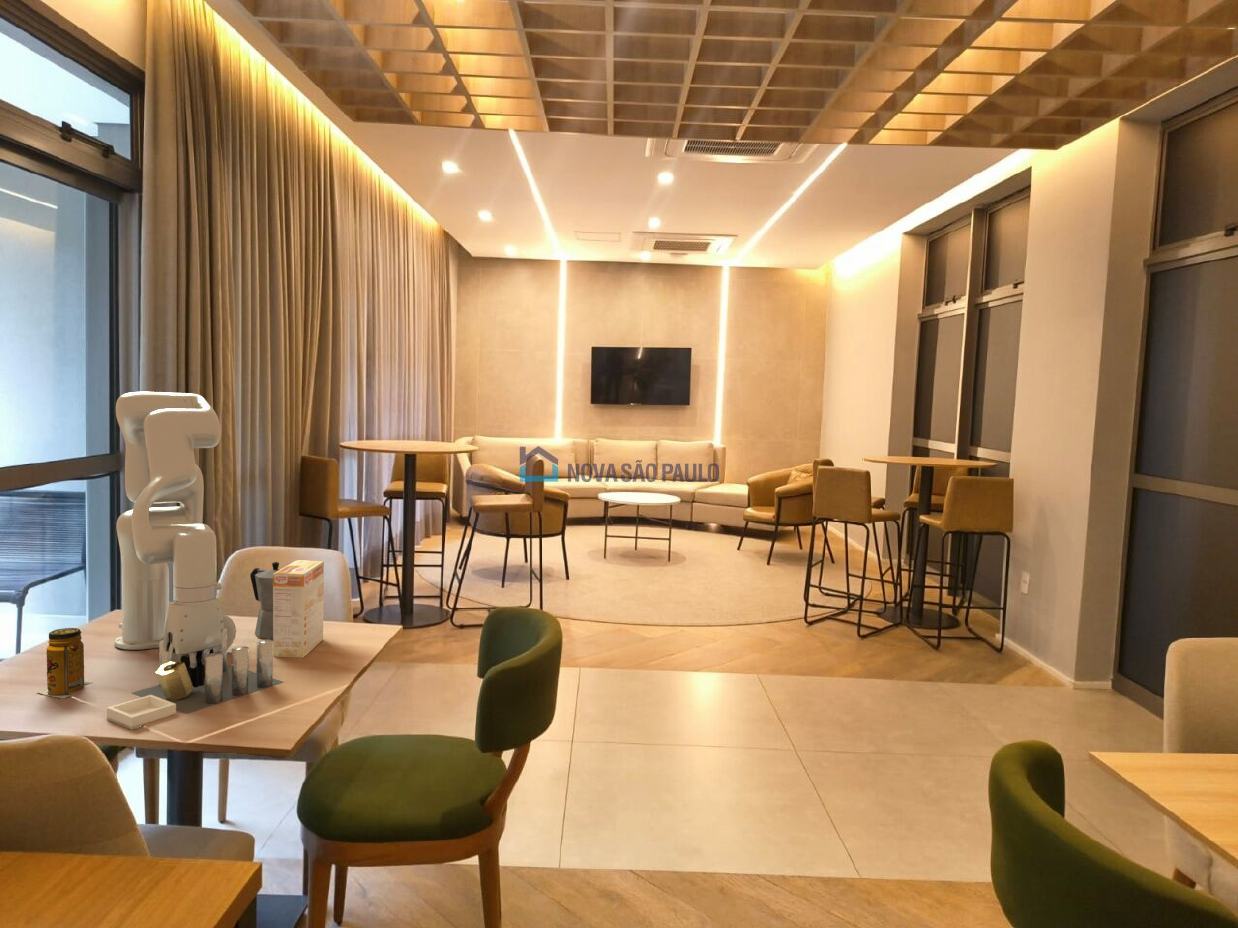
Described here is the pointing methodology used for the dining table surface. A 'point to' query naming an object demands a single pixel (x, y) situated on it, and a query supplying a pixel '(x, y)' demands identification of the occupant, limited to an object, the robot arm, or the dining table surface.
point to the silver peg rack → (233, 669)
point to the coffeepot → (264, 600)
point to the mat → (198, 694)
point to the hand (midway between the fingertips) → (195, 684)
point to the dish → (140, 711)
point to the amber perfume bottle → (174, 680)
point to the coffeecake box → (298, 608)
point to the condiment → (65, 663)
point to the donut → (229, 629)
